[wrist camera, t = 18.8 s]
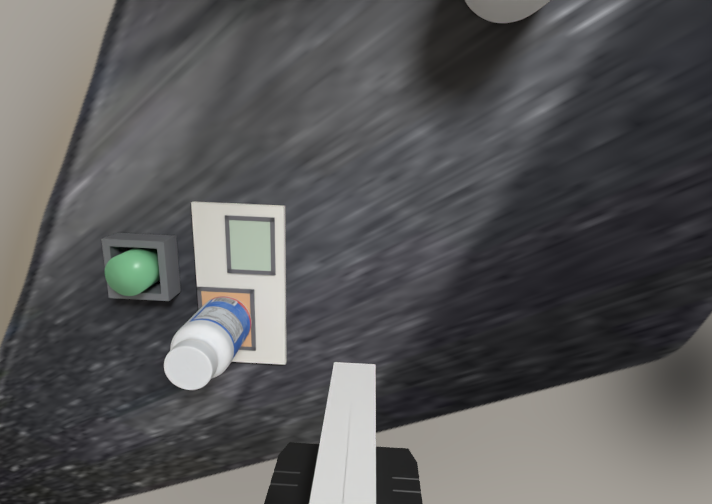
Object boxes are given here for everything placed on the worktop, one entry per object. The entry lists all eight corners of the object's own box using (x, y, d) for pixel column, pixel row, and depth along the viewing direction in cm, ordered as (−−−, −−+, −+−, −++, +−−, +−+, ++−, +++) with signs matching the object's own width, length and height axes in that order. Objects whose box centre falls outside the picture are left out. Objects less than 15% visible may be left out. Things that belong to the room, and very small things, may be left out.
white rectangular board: (193, 201, 41) (190, 202, 40) (285, 205, 40) (283, 207, 39) (204, 357, 45) (201, 361, 44) (286, 361, 45) (284, 365, 44)
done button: (124, 244, 41) (102, 254, 38) (164, 246, 41) (145, 256, 38) (129, 282, 42) (107, 294, 39) (167, 284, 42) (149, 297, 39)
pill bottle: (225, 351, 44) (184, 410, 34) (190, 313, 43) (139, 363, 33) (264, 323, 43) (233, 376, 33) (229, 284, 42) (188, 326, 32)
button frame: (117, 232, 42) (101, 238, 39) (176, 235, 42) (163, 241, 39) (124, 288, 43) (108, 297, 41) (181, 291, 43) (169, 301, 41)
